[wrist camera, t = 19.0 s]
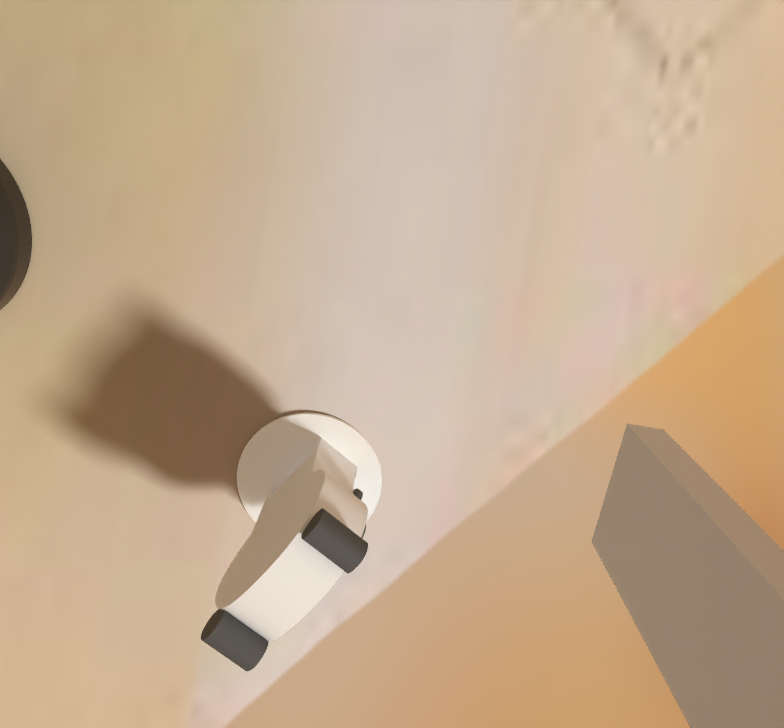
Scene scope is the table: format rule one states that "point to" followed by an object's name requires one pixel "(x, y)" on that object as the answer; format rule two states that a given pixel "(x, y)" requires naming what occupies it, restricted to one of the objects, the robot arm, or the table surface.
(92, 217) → the table surface
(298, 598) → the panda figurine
